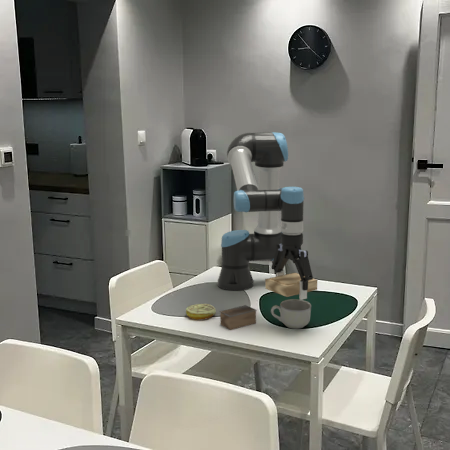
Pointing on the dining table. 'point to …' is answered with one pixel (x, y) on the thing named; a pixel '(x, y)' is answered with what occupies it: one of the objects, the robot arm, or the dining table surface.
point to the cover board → (288, 284)
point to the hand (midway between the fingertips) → (291, 294)
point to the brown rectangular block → (238, 317)
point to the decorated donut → (200, 311)
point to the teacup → (293, 313)
